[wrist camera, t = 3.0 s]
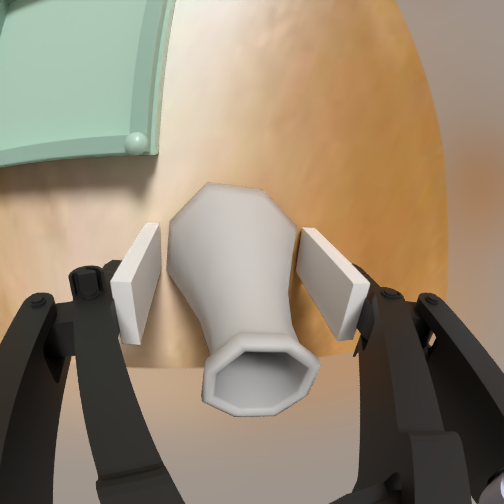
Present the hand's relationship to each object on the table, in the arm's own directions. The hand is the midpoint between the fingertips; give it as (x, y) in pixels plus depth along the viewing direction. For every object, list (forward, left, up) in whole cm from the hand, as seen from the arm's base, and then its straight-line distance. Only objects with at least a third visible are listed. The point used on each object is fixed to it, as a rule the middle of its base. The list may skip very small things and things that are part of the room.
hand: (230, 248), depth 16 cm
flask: (0, 0, -1) cm, 1 cm away
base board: (-10, +11, 0) cm, 15 cm away
